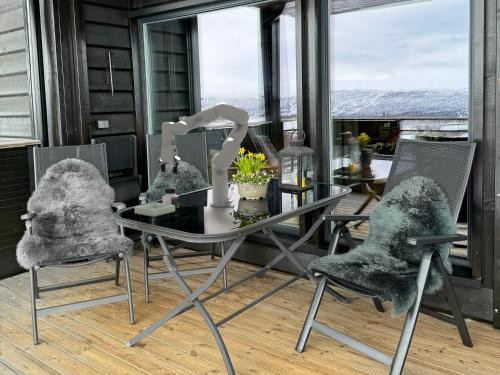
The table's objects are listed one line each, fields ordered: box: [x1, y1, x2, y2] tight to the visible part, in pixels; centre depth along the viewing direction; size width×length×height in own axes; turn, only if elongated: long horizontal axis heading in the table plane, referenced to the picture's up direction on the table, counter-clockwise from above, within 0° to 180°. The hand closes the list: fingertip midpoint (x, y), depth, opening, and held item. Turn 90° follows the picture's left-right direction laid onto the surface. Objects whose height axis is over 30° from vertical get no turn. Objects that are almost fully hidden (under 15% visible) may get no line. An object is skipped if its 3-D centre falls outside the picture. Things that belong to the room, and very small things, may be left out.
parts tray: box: [134, 202, 176, 217], centre depth 294 cm, size 16×16×4 cm
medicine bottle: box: [161, 186, 180, 209], centre depth 307 cm, size 7×7×12 cm
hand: (169, 172), depth 304 cm, fingers open, 9 cm apart
